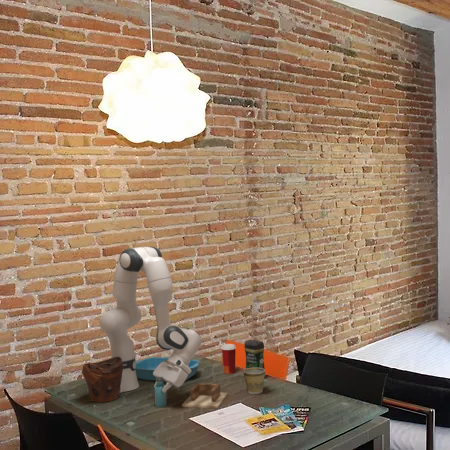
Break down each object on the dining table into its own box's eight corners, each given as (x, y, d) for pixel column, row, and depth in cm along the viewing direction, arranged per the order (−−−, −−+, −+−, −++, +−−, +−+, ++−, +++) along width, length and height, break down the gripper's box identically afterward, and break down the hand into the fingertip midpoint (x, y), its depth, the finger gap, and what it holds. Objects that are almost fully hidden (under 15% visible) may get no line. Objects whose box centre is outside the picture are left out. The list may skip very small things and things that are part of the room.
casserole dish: (123, 380, 311) (122, 366, 311) (146, 368, 331) (145, 355, 331) (187, 386, 296) (186, 371, 296) (207, 373, 316) (207, 359, 316)
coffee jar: (242, 378, 304) (241, 341, 303) (252, 374, 310) (250, 337, 310) (259, 381, 298) (257, 343, 297) (268, 376, 304) (266, 339, 304)
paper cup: (237, 370, 319) (236, 343, 318) (236, 374, 311) (235, 347, 310) (222, 370, 319) (221, 343, 319) (221, 374, 312) (219, 347, 311)
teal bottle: (153, 406, 268) (152, 379, 267) (157, 403, 272) (156, 376, 272) (164, 407, 266) (163, 380, 266) (168, 403, 271) (167, 376, 271)
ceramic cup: (257, 396, 275) (256, 374, 274) (239, 393, 281) (238, 371, 280) (273, 388, 285) (272, 367, 285) (255, 385, 291) (254, 364, 291)
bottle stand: (181, 406, 266) (181, 393, 266) (194, 393, 283) (193, 380, 283) (217, 408, 262) (216, 394, 262) (227, 394, 279) (227, 381, 279)
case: (74, 402, 278) (72, 363, 277) (102, 389, 296) (101, 352, 295) (105, 407, 270) (103, 367, 269) (132, 394, 287) (131, 356, 287)
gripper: (160, 355, 281) (143, 380, 276) (184, 363, 264) (165, 391, 259) (169, 363, 284) (152, 388, 279) (193, 372, 267) (175, 399, 262)
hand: (159, 389), depth 269 cm, fingers closed on teal bottle, 5 cm apart
